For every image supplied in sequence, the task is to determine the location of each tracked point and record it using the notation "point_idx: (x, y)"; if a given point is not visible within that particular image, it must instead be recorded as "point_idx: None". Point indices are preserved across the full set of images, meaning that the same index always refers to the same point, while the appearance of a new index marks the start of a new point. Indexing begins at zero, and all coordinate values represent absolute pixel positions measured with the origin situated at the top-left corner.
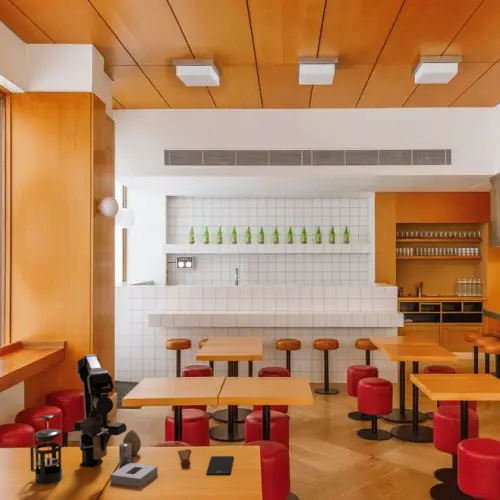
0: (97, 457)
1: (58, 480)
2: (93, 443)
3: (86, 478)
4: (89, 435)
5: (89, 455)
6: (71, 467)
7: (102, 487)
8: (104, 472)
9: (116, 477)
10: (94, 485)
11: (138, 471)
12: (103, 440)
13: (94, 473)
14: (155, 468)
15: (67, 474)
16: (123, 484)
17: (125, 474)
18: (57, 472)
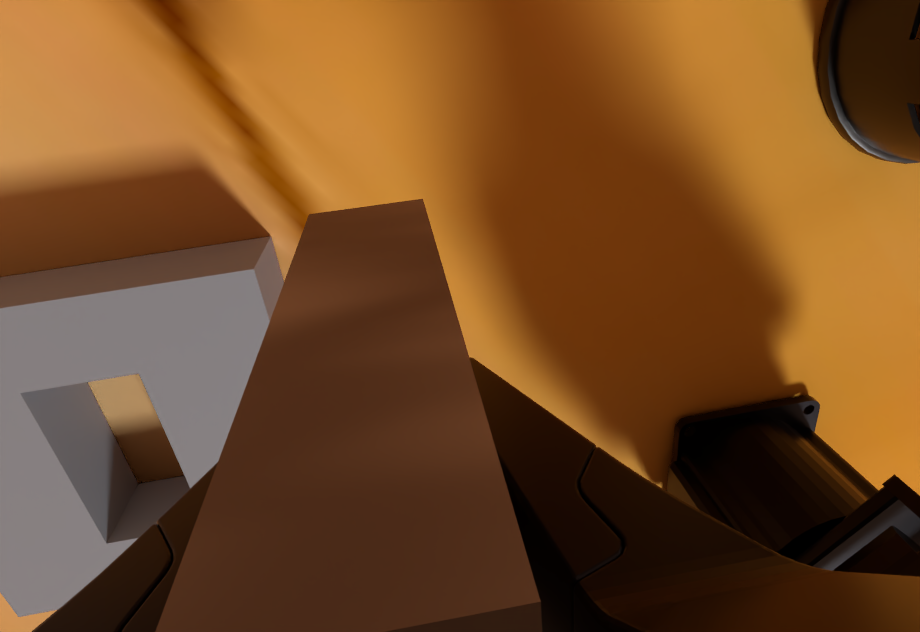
0: (326, 224)
1: (829, 18)
2: (463, 358)
3: (586, 217)
4: (867, 590)
5: (777, 483)
6: (858, 337)
7: (258, 109)
8: (518, 389)
9: (176, 274)
10: (382, 113)
11: (54, 466)
12: (79, 616)
13: (588, 335)
14: (4, 586)
15: (819, 207)
16: (108, 262)
17: (102, 351)
18: (915, 6)
